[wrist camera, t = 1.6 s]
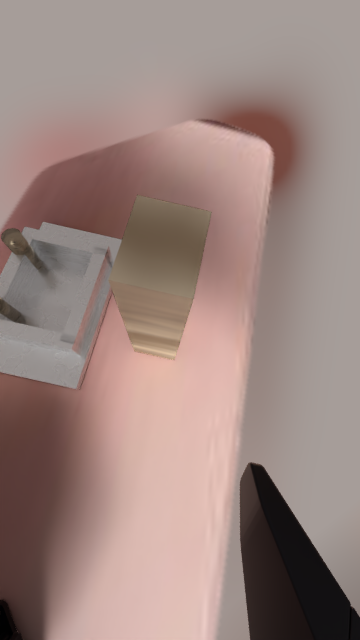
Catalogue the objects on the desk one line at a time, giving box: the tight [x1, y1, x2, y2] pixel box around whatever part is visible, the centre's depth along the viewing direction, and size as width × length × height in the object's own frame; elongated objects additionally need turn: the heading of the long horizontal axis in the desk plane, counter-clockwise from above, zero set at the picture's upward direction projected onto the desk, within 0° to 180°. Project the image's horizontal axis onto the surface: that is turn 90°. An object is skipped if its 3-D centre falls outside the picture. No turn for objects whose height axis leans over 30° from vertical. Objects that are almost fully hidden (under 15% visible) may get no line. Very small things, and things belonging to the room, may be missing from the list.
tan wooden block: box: [108, 195, 212, 360], centre depth 18 cm, size 4×4×13 cm
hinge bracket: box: [0, 222, 122, 390], centre depth 22 cm, size 14×8×5 cm, turn 168°
